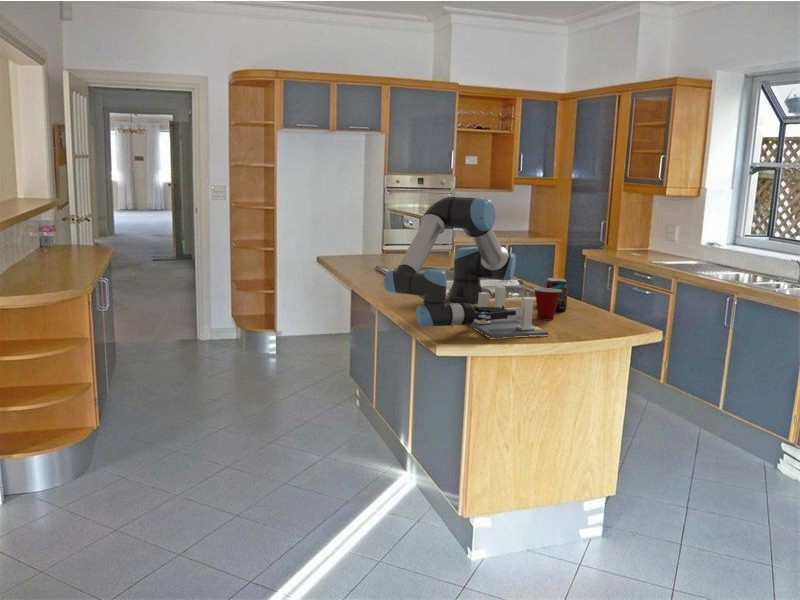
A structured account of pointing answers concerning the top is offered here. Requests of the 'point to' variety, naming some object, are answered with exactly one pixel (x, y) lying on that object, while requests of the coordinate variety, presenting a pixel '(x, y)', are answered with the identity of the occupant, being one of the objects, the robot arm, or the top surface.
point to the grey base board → (506, 328)
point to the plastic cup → (546, 302)
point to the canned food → (550, 280)
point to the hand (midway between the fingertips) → (522, 311)
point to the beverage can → (561, 295)
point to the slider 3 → (526, 314)
